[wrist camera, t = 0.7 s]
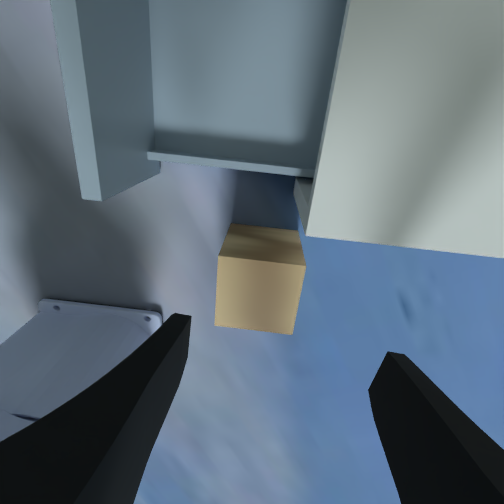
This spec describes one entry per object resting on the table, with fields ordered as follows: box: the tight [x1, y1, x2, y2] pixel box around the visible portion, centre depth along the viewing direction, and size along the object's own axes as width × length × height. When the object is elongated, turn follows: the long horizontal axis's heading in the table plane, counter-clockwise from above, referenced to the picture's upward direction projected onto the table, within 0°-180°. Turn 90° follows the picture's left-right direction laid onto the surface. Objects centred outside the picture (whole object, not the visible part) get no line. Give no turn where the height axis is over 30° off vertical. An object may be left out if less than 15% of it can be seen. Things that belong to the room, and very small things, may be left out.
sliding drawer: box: [50, 0, 347, 201], centre depth 12 cm, size 10×11×7 cm
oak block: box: [215, 223, 306, 335], centre depth 17 cm, size 4×4×5 cm
